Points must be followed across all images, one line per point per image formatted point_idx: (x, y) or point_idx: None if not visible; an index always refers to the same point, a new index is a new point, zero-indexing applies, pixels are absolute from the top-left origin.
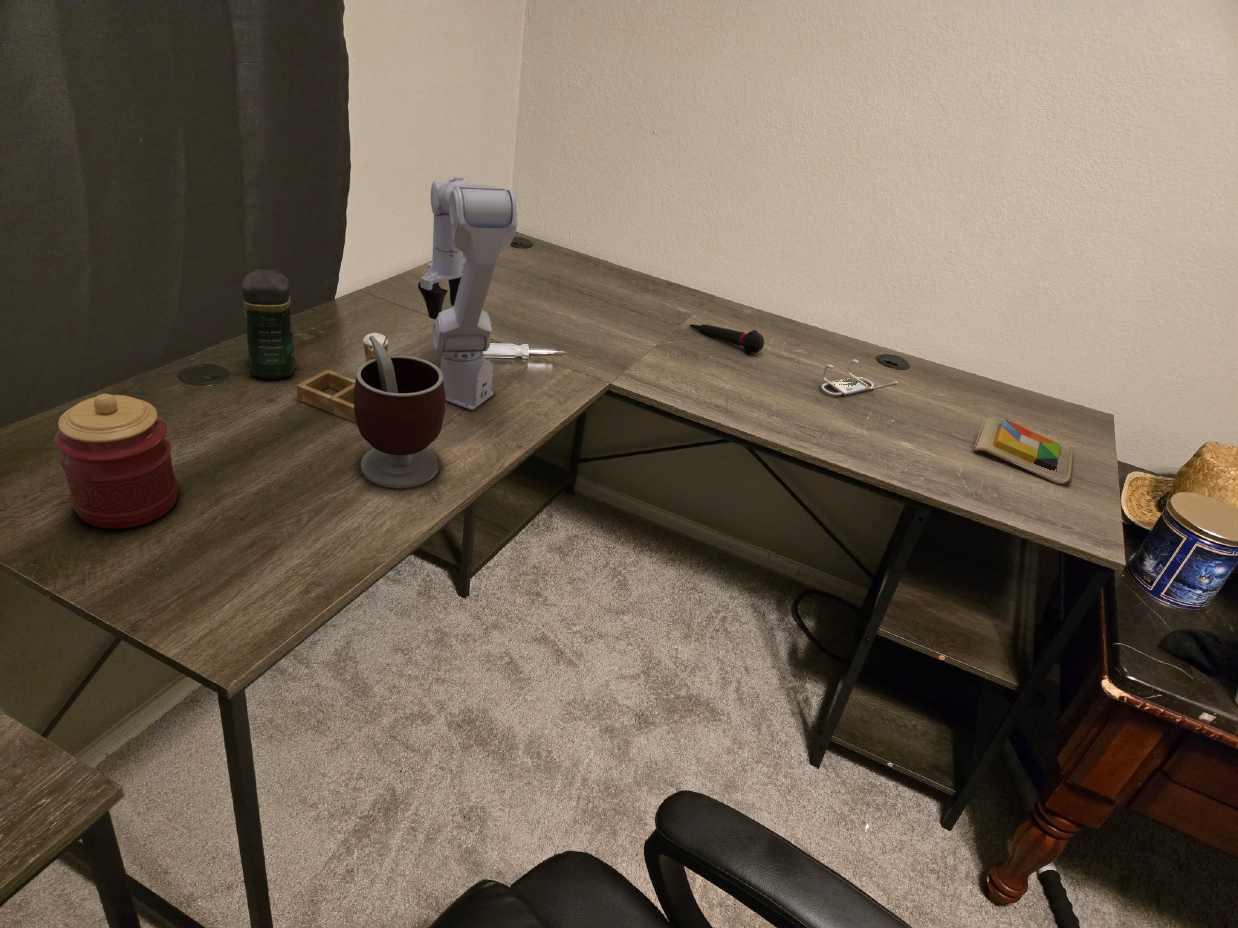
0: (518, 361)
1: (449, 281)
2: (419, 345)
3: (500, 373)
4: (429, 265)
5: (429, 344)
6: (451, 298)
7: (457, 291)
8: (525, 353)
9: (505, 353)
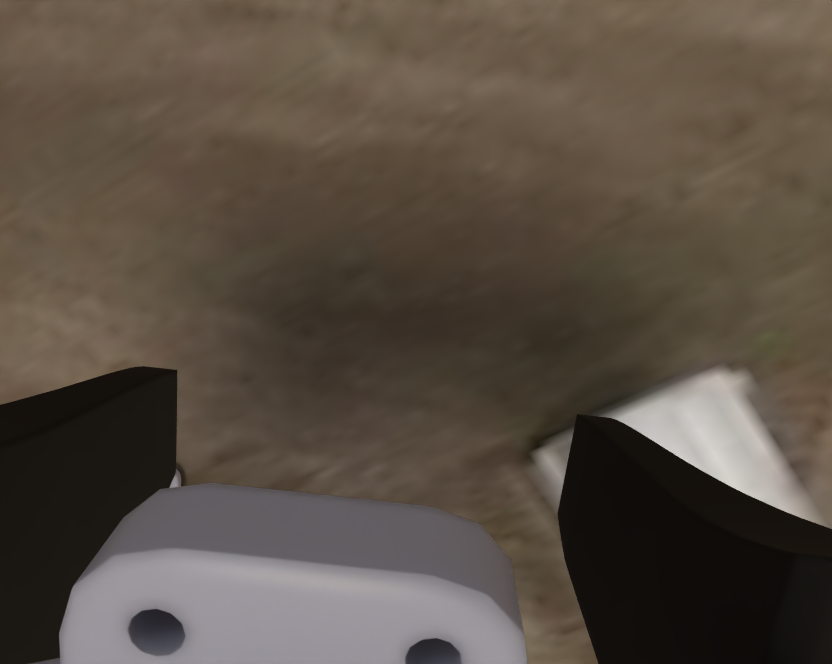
0: None
1: (694, 539)
2: (482, 62)
3: None
4: (67, 655)
5: (536, 115)
6: (597, 454)
7: (624, 598)
8: None
9: None
